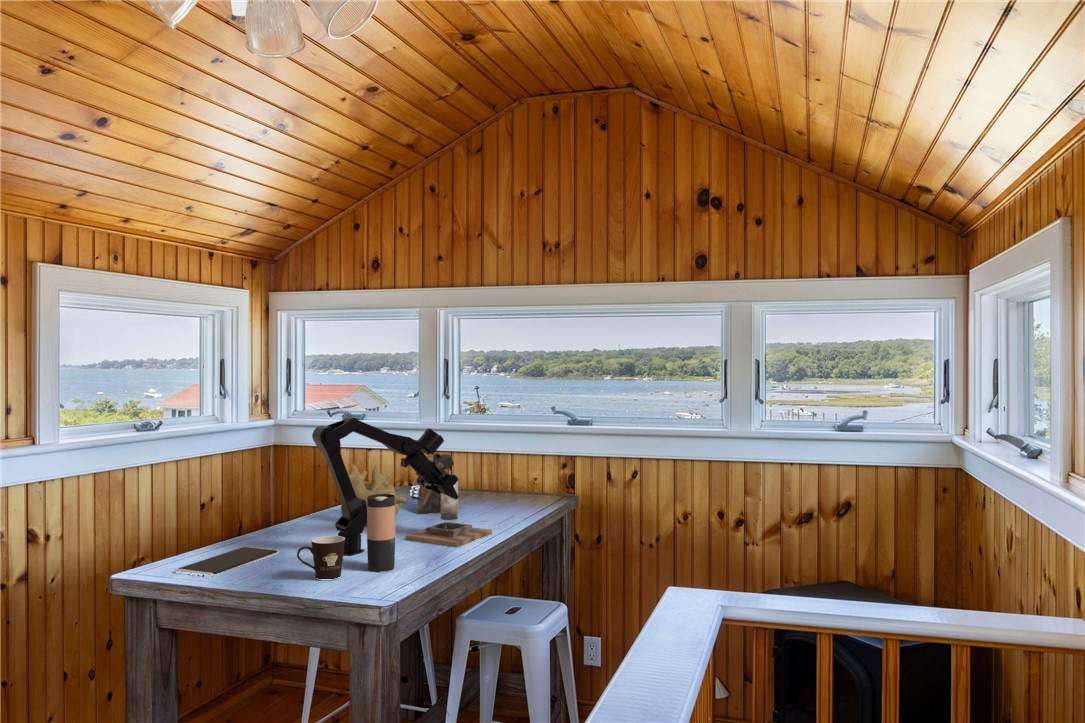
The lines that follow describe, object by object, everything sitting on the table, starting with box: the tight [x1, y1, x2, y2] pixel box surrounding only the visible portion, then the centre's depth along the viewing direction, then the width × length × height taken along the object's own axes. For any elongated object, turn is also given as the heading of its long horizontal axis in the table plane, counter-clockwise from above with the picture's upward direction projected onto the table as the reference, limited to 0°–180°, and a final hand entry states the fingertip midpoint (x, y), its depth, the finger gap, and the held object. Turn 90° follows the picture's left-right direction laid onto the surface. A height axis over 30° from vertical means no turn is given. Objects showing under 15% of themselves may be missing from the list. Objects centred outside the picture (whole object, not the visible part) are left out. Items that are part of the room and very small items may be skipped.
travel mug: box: [366, 494, 396, 573], centre depth 212 cm, size 8×8×20 cm
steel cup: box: [440, 480, 459, 521], centre depth 249 cm, size 6×6×13 cm
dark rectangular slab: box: [174, 546, 280, 575], centre depth 217 cm, size 13×27×2 cm, turn 159°
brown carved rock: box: [417, 456, 450, 515], centre depth 292 cm, size 13×13×20 cm
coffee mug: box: [296, 535, 345, 579], centre depth 203 cm, size 12×9×10 cm
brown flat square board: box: [404, 521, 493, 548], centre depth 249 cm, size 20×20×4 cm
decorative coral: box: [348, 463, 407, 526], centre depth 274 cm, size 26×22×25 cm
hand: (452, 497), depth 250 cm, fingers closed on steel cup, 6 cm apart
